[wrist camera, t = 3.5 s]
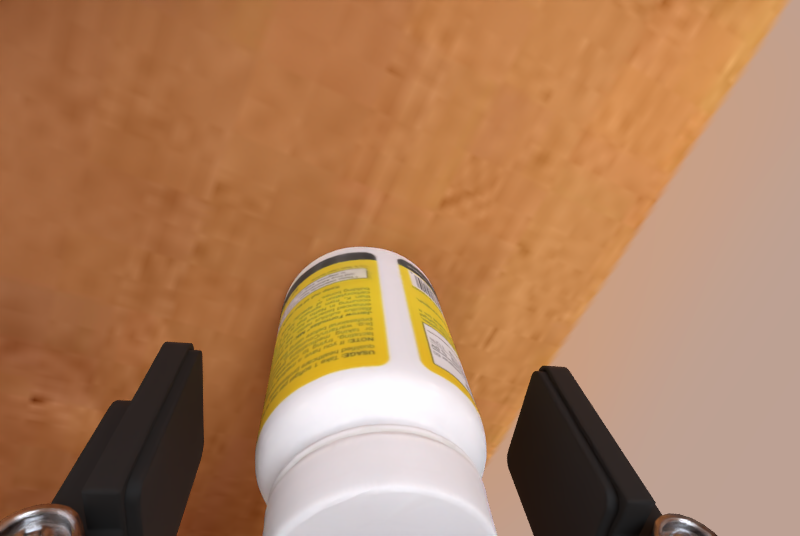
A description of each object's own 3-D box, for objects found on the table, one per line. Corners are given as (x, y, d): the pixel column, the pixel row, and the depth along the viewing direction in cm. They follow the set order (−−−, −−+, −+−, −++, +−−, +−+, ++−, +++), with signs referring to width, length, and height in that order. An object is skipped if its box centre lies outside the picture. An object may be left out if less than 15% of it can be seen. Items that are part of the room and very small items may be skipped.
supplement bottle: (266, 356, 16) (200, 647, 9) (307, 222, 14) (269, 441, 7) (407, 387, 17) (459, 670, 10) (461, 267, 16) (574, 499, 8)
